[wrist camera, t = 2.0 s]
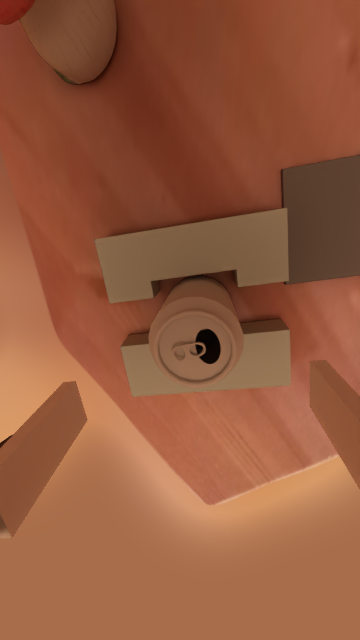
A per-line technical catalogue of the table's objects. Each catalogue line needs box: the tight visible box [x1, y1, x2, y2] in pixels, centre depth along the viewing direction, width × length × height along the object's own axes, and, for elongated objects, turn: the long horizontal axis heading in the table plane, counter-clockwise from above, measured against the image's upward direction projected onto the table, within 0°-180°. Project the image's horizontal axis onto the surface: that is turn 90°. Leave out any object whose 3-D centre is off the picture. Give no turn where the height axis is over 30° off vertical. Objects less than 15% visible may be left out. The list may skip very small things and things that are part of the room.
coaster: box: [281, 155, 360, 285], centre depth 26 cm, size 11×11×1 cm
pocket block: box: [94, 208, 291, 397], centre depth 28 cm, size 18×18×4 cm
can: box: [148, 276, 244, 387], centre depth 24 cm, size 8×8×12 cm
